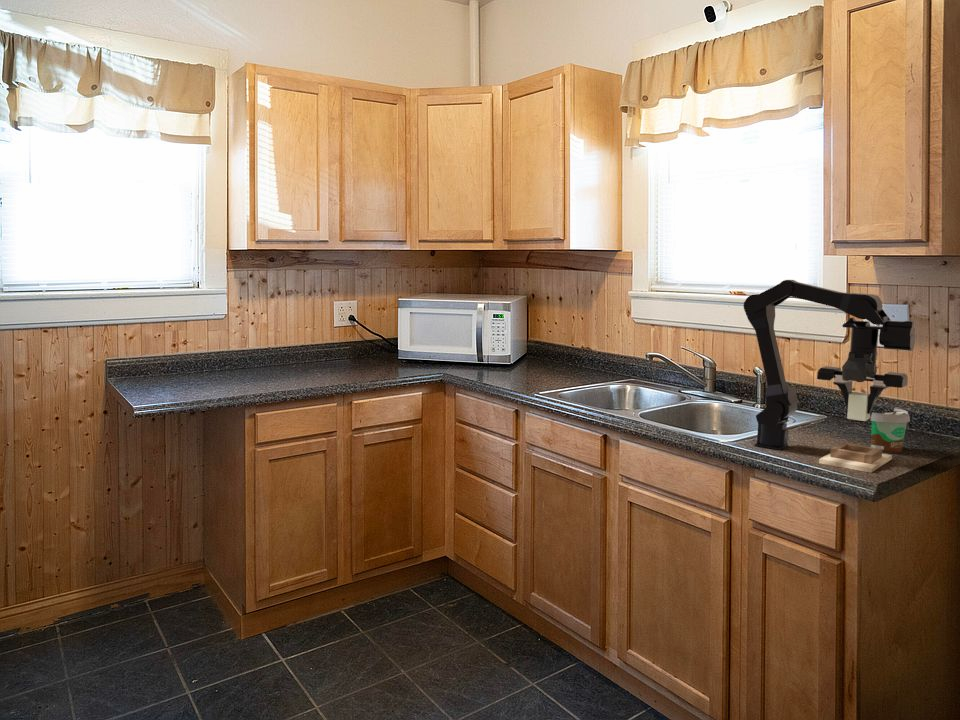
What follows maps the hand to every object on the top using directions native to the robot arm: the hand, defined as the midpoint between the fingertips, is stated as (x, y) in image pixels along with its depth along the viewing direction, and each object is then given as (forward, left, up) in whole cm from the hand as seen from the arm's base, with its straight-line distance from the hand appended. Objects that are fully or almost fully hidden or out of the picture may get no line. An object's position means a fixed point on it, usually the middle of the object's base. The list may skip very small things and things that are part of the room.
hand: (858, 412), depth 186 cm
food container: (+4, +17, -12) cm, 21 cm away
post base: (0, -1, -12) cm, 12 cm away
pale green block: (0, 0, -2) cm, 2 cm away
